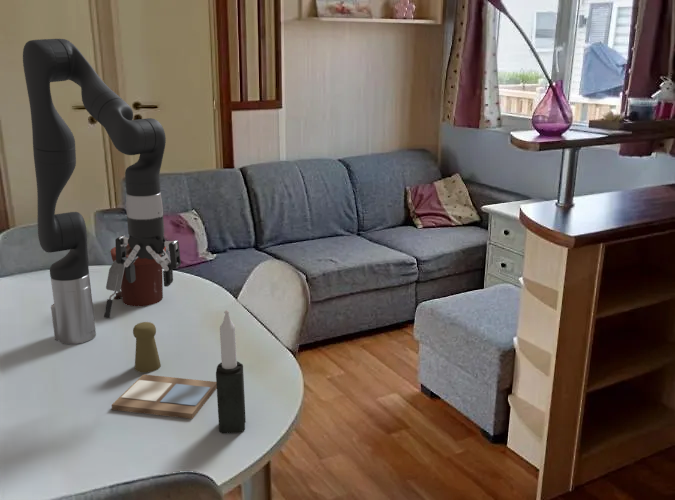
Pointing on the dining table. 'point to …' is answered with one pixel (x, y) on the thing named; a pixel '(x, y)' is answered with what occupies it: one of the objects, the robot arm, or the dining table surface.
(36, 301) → the dining table surface
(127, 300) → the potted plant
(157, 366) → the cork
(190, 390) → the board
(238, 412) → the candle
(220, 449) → the dining table surface
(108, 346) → the dining table surface
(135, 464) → the dining table surface
